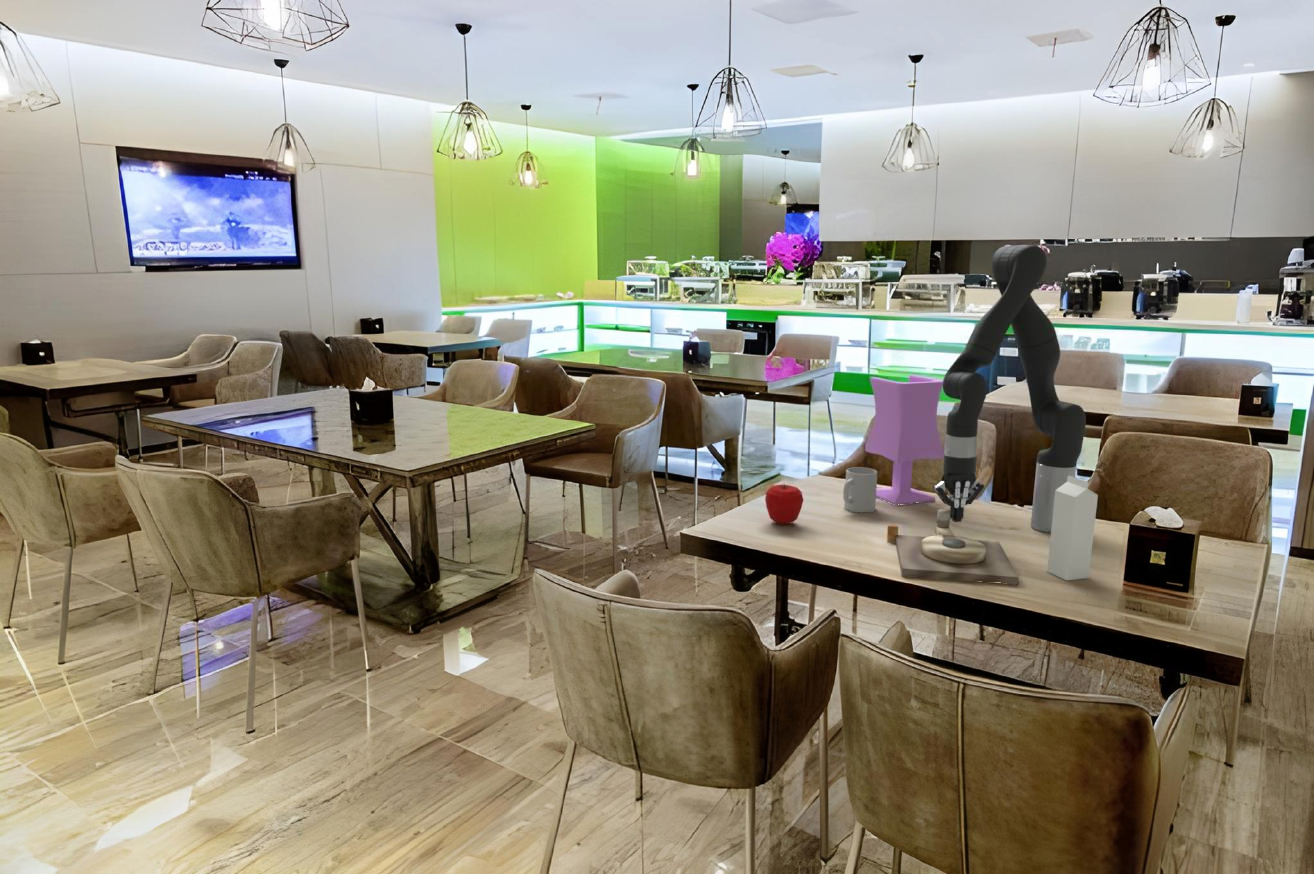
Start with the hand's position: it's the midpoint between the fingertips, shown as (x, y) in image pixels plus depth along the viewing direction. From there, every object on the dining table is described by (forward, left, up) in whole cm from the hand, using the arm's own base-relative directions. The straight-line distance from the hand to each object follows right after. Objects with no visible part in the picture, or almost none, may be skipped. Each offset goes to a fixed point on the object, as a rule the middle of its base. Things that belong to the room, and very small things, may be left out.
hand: (956, 521), depth 209 cm
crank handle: (+3, +12, -3) cm, 12 cm away
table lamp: (+10, -38, -5) cm, 40 cm away
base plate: (+3, +15, -5) cm, 16 cm away
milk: (-22, +19, -5) cm, 29 cm away
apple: (+42, -5, -5) cm, 43 cm away
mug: (+23, -22, -5) cm, 33 cm away
